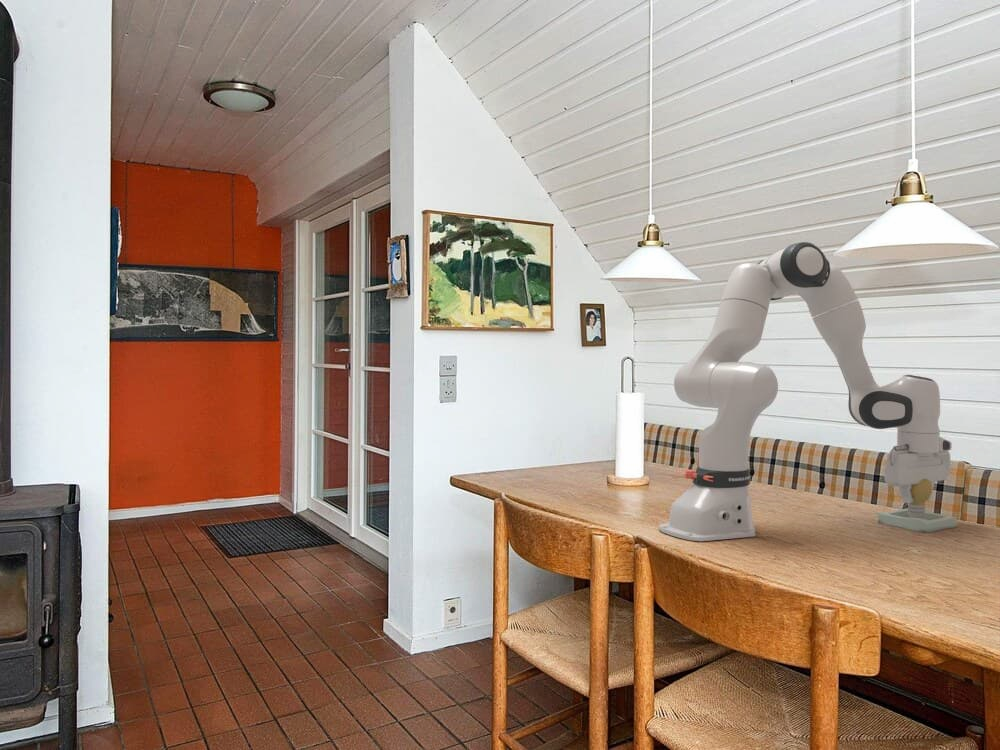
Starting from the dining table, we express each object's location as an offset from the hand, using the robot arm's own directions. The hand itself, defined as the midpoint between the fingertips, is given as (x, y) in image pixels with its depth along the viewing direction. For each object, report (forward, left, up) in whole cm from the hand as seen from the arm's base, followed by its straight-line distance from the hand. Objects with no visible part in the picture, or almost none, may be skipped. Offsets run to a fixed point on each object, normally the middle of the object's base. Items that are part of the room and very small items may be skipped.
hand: (916, 501), depth 184 cm
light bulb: (0, 0, -4) cm, 4 cm away
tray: (0, 0, -6) cm, 6 cm away
